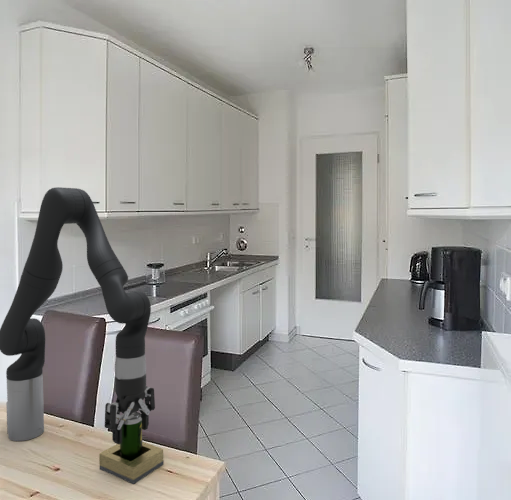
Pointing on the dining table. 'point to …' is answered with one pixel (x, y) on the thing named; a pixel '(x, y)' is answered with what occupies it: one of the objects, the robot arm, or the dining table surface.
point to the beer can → (131, 437)
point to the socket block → (131, 462)
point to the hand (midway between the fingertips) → (131, 435)
